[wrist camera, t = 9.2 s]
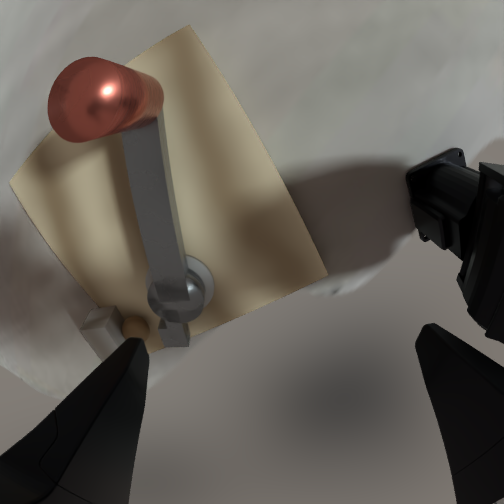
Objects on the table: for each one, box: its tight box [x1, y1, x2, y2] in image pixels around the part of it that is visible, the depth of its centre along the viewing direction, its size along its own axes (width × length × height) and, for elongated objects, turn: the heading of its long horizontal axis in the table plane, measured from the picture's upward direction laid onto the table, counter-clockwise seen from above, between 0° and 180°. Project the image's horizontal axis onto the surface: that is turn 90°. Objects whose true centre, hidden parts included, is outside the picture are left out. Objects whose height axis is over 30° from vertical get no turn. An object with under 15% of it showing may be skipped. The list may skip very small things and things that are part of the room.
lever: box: [48, 57, 206, 347], centre depth 14 cm, size 4×19×8 cm, turn 4°
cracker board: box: [9, 25, 328, 362], centre depth 18 cm, size 20×20×4 cm
